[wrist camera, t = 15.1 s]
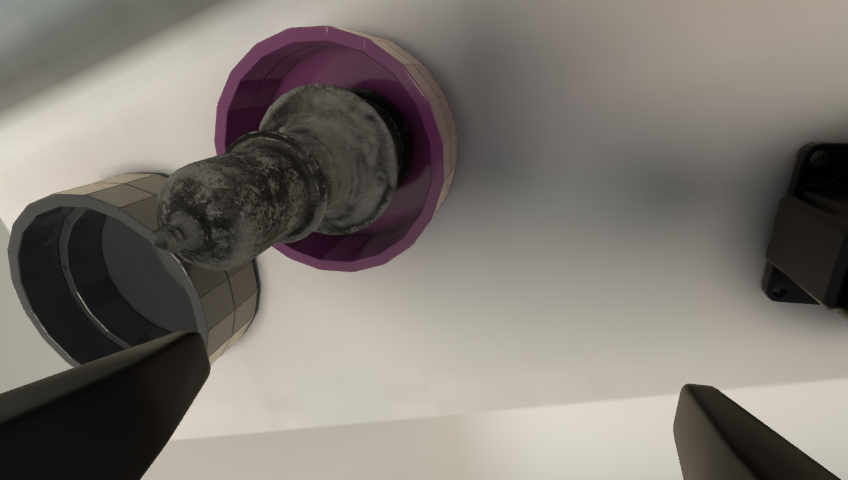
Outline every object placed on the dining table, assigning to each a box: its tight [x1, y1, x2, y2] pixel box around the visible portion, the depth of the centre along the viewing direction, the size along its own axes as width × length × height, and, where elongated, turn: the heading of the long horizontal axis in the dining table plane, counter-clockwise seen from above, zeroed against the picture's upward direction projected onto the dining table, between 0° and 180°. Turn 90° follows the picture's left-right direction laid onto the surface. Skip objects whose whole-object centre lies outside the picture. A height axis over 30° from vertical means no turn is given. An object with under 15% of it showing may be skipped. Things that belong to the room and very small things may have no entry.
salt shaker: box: [154, 83, 413, 271], centre depth 15 cm, size 6×6×12 cm
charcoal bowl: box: [8, 173, 258, 368], centre depth 24 cm, size 11×11×4 cm
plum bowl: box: [214, 26, 457, 272], centre depth 19 cm, size 10×10×4 cm
